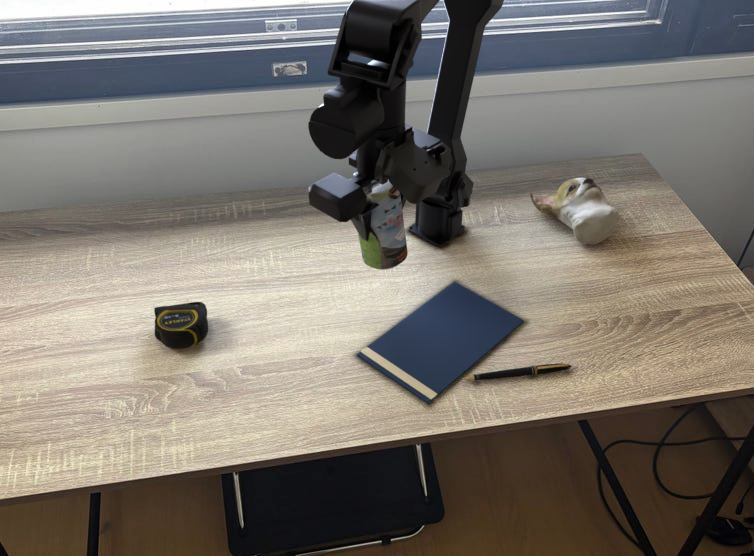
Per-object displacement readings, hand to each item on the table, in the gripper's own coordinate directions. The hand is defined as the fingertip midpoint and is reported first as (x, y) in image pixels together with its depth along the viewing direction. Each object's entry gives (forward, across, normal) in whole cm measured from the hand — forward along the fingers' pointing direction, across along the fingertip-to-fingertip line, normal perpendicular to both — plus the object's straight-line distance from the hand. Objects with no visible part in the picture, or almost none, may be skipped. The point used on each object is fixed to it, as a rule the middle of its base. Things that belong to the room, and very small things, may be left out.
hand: (379, 230), depth 94 cm
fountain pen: (+12, +1, -23) cm, 26 cm away
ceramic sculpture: (+12, +34, -11) cm, 37 cm away
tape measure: (+12, -23, +14) cm, 30 cm away
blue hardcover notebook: (+11, 0, -12) cm, 16 cm away
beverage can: (+5, 0, 0) cm, 5 cm away
